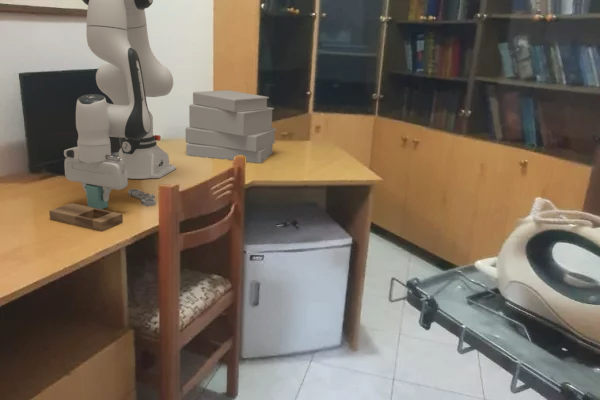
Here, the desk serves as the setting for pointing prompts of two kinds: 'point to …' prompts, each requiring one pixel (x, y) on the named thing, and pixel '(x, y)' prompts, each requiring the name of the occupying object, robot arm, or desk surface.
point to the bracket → (143, 197)
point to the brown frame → (86, 216)
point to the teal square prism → (95, 197)
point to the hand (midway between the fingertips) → (97, 199)
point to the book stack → (230, 126)
